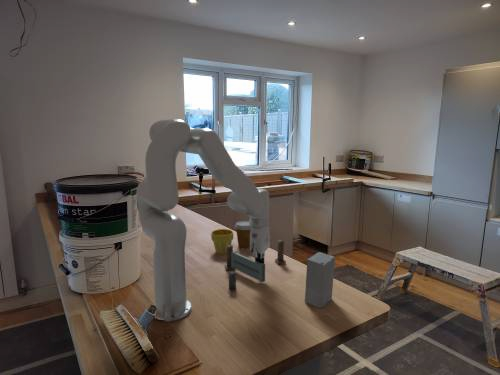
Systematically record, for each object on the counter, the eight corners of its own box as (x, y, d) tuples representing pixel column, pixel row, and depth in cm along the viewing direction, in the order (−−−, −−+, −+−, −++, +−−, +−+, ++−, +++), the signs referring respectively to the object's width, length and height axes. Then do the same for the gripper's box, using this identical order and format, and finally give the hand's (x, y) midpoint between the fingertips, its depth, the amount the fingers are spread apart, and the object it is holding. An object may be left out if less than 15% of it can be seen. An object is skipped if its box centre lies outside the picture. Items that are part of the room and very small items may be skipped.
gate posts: (229, 290, 117) (229, 264, 115) (219, 268, 136) (218, 245, 134) (302, 280, 125) (303, 255, 123) (282, 260, 144) (283, 239, 142)
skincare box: (315, 293, 115) (317, 250, 112) (334, 299, 110) (336, 255, 108) (303, 303, 108) (304, 258, 106) (322, 310, 104) (324, 263, 101)
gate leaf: (231, 267, 133) (231, 252, 132) (234, 266, 134) (234, 251, 133) (261, 282, 120) (262, 265, 119) (265, 281, 121) (265, 264, 120)
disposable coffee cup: (256, 244, 165) (256, 221, 163) (251, 250, 156) (251, 226, 154) (238, 242, 167) (238, 220, 165) (232, 249, 158) (232, 225, 156)
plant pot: (219, 257, 147) (219, 237, 146) (207, 251, 155) (207, 231, 153) (237, 252, 154) (237, 232, 152) (225, 246, 162) (225, 227, 160)
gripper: (261, 228, 114) (261, 277, 117) (275, 217, 128) (275, 261, 131) (241, 226, 117) (242, 273, 120) (257, 215, 130) (258, 258, 134)
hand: (259, 267), depth 126 cm, fingers closed
